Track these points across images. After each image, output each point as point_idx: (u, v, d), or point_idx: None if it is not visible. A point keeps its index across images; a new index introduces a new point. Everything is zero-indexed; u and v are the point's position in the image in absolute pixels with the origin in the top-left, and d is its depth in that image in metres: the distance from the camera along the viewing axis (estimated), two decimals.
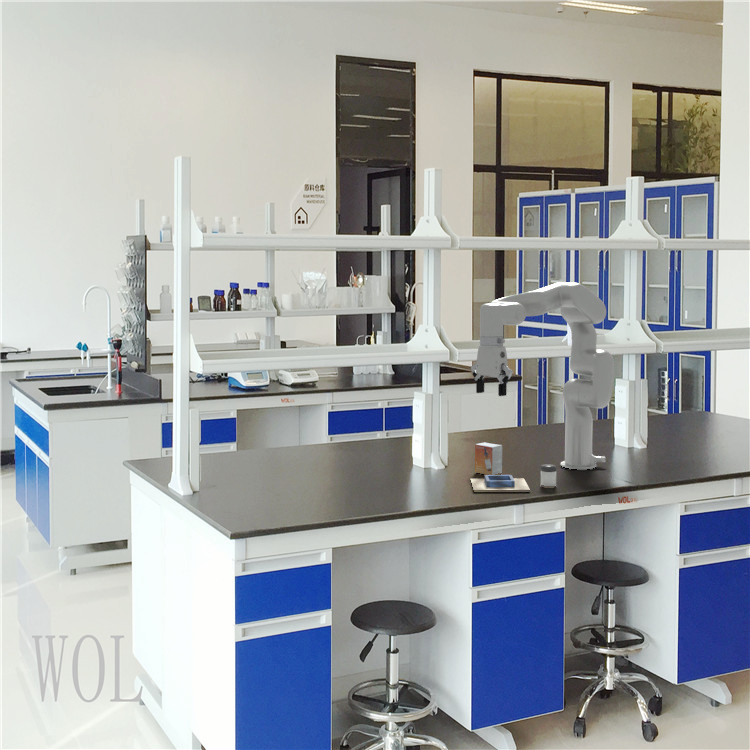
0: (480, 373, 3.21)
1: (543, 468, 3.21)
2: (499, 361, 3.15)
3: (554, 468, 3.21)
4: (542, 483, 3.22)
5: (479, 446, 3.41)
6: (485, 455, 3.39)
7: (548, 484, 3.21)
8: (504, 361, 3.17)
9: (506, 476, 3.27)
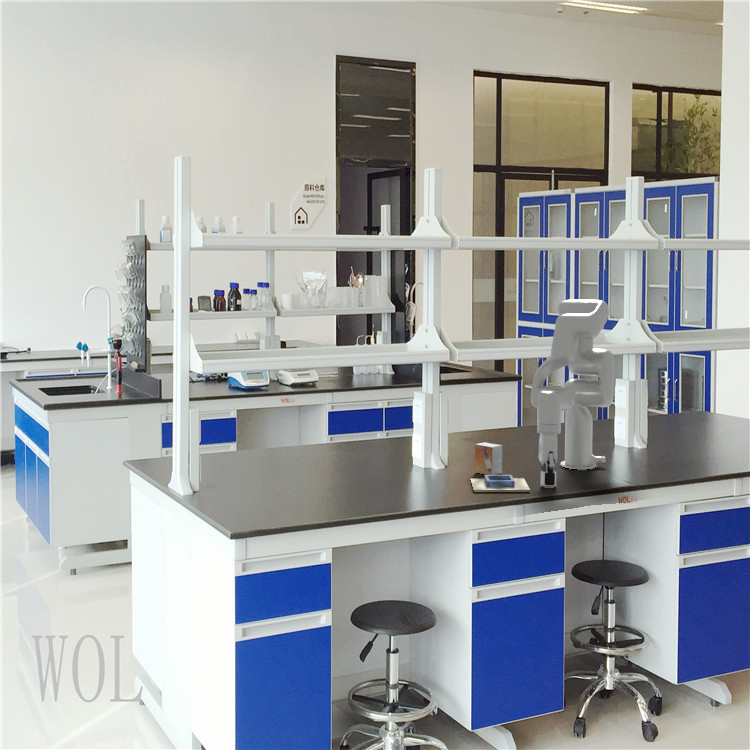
0: None
1: (543, 468, 3.21)
2: None
3: None
4: (542, 483, 3.22)
5: (479, 446, 3.41)
6: (485, 455, 3.39)
7: None
8: None
9: (506, 476, 3.27)
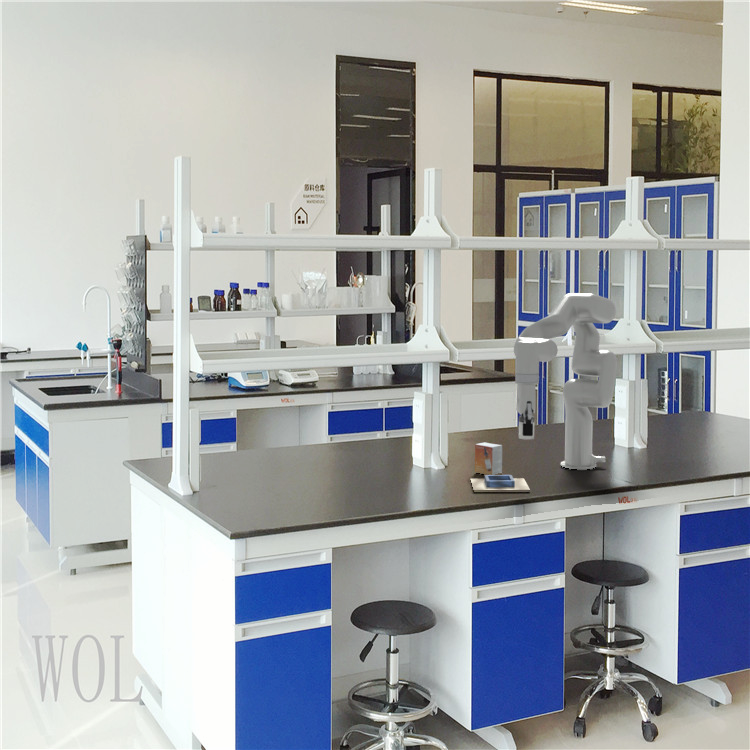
0: None
1: (521, 419, 3.19)
2: None
3: None
4: (520, 434, 3.20)
5: (479, 446, 3.41)
6: (485, 455, 3.39)
7: None
8: None
9: (506, 476, 3.27)
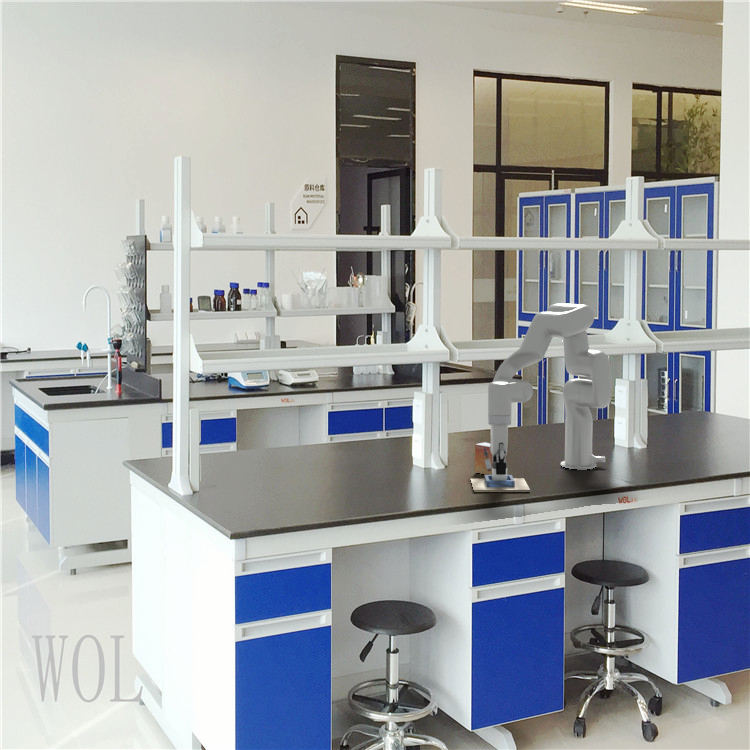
0: None
1: (494, 465, 3.22)
2: None
3: None
4: None
5: (479, 446, 3.41)
6: (485, 455, 3.39)
7: None
8: None
9: None
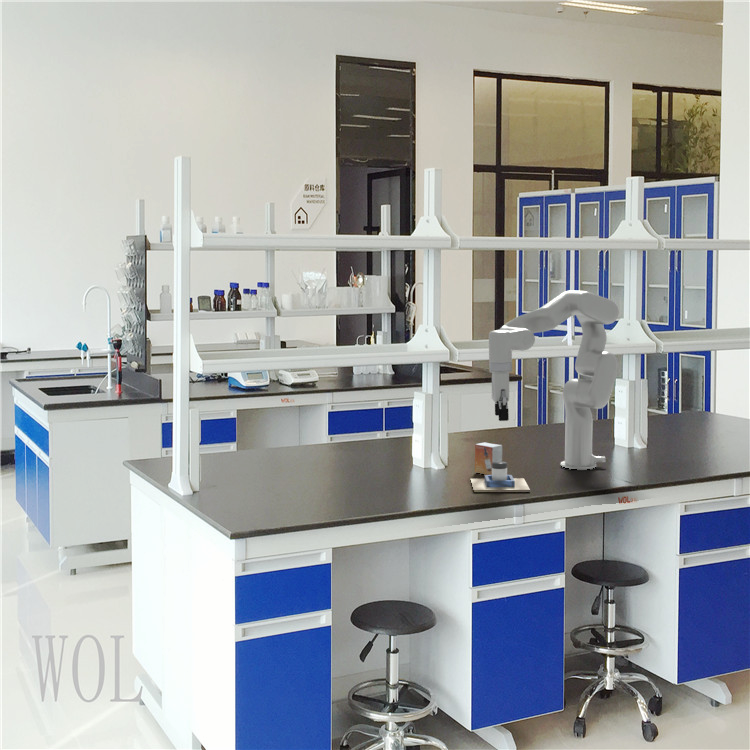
0: (508, 399, 3.27)
1: (494, 465, 3.22)
2: None
3: (505, 465, 3.21)
4: None
5: (479, 446, 3.41)
6: (485, 455, 3.39)
7: None
8: None
9: None
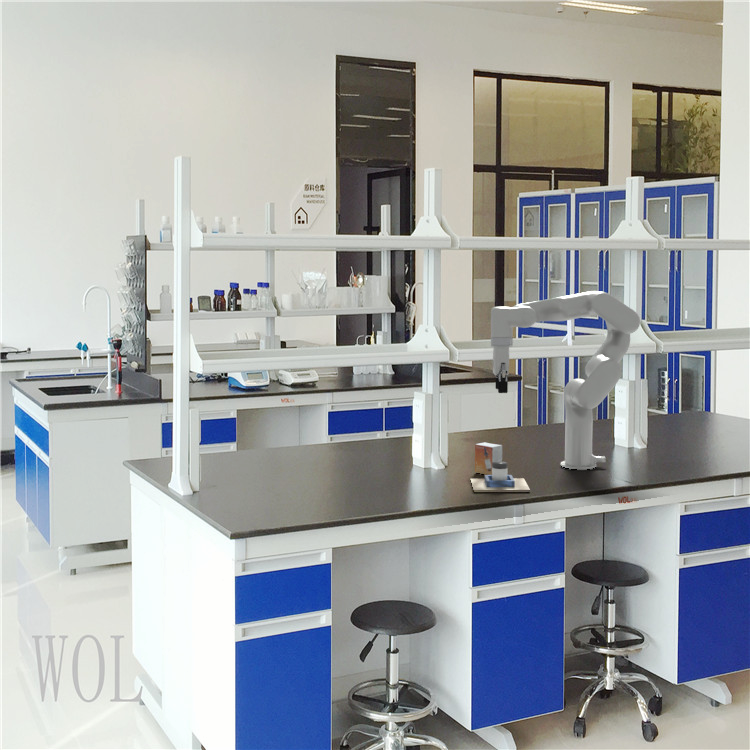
0: None
1: (494, 465, 3.22)
2: None
3: (505, 465, 3.21)
4: None
5: (479, 446, 3.41)
6: (485, 455, 3.39)
7: None
8: None
9: None
